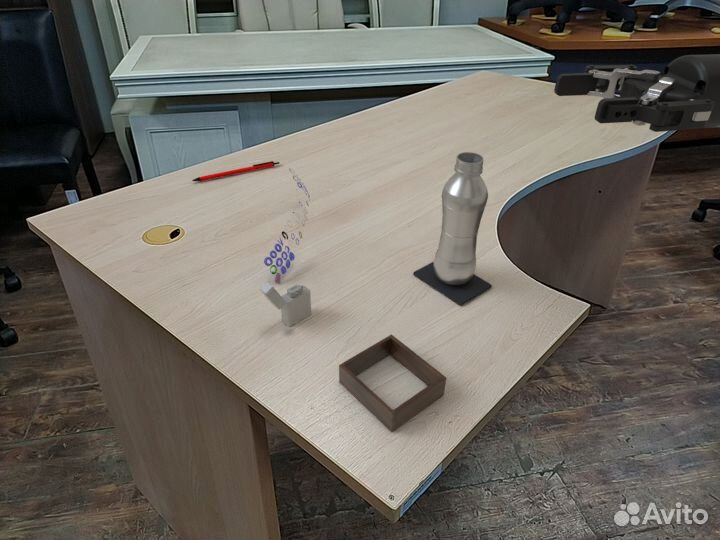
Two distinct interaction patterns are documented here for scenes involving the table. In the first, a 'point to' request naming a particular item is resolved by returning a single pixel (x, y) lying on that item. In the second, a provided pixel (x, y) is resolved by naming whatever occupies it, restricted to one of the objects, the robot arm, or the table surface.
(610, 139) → the table surface
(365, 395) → the bottle stand
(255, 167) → the pen
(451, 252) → the silver metal bottle
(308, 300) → the lighter
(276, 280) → the ring set
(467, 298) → the mat
